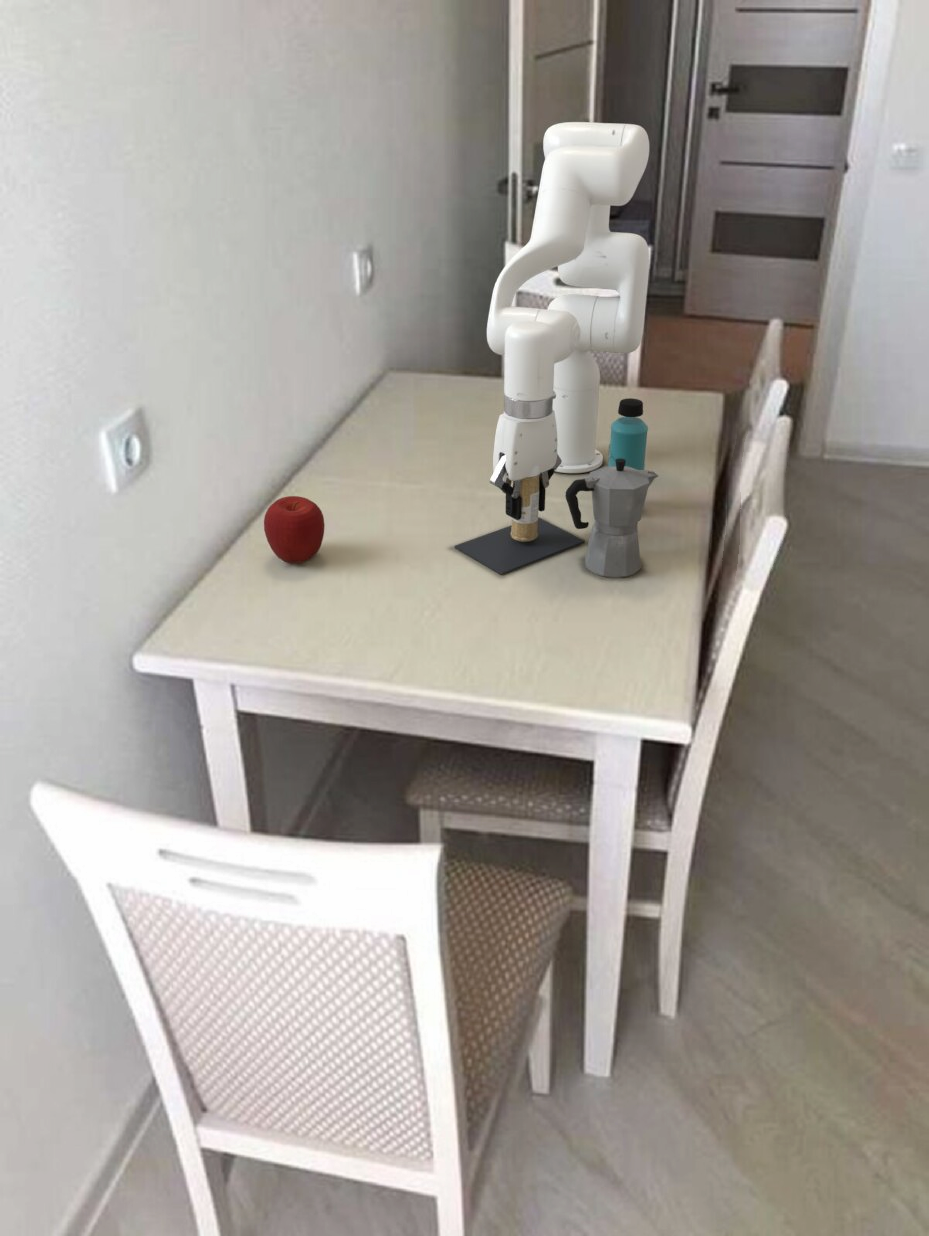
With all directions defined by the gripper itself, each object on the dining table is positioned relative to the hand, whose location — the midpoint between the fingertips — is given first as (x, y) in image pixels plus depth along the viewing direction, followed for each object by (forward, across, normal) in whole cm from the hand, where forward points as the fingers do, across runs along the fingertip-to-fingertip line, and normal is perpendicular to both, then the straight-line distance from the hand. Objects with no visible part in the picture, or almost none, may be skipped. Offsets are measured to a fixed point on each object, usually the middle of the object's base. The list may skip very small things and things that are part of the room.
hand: (525, 511), depth 172 cm
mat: (+6, +1, 0) cm, 6 cm away
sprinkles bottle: (+5, 0, 0) cm, 5 cm away
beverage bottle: (+6, -22, +1) cm, 23 cm away
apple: (+6, +32, -19) cm, 38 cm away
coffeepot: (+6, -5, +14) cm, 16 cm away
